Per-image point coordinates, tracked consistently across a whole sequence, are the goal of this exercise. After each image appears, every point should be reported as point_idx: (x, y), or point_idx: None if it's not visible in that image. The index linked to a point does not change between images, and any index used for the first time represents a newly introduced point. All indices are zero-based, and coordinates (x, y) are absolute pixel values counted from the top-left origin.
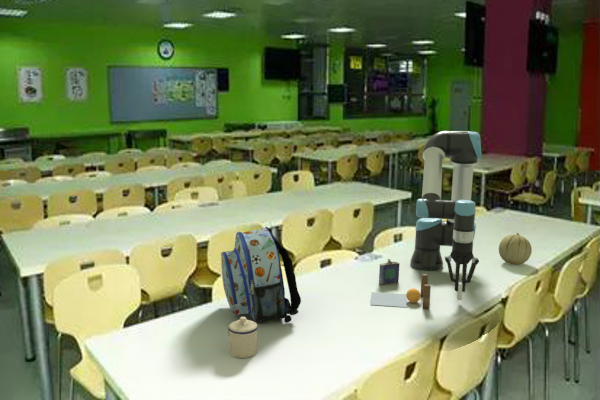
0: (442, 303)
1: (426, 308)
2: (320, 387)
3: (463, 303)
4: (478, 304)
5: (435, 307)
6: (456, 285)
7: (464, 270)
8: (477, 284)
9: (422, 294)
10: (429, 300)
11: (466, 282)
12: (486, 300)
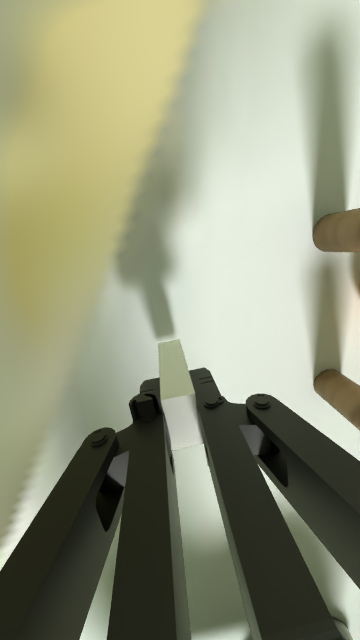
0: (247, 327)
1: (331, 214)
2: None
3: (148, 363)
4: (75, 377)
5: (281, 259)
6: (208, 393)
7: (150, 582)
8: (111, 580)
9: (344, 376)
10: (352, 221)
11: (126, 433)
12: (47, 439)
